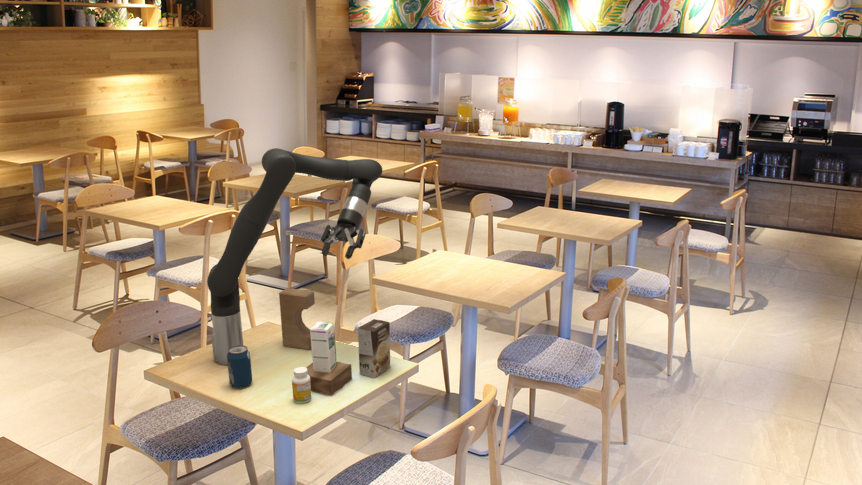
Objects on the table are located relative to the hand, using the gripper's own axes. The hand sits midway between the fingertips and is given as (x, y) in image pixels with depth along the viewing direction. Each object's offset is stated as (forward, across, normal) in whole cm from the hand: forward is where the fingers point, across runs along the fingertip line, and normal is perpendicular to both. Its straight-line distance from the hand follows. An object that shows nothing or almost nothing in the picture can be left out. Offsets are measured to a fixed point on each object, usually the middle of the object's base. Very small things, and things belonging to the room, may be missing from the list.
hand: (335, 256), depth 231 cm
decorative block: (+22, -20, +30) cm, 42 cm away
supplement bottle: (+45, +3, +7) cm, 46 cm away
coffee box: (+27, +14, +25) cm, 40 cm away
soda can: (+45, -20, +7) cm, 50 cm away
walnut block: (+37, +4, +15) cm, 40 cm away
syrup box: (+33, +4, +12) cm, 36 cm away
